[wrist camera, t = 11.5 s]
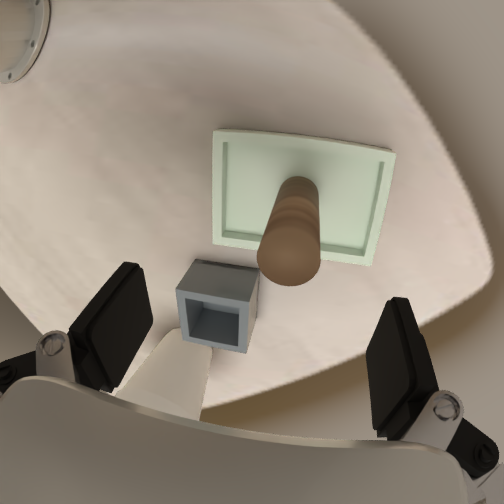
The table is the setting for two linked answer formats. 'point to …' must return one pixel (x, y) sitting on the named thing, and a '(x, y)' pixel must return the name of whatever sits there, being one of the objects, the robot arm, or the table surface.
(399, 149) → the table surface
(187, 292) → the pen cup
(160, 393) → the foam cup
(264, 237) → the dowel
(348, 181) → the tray
